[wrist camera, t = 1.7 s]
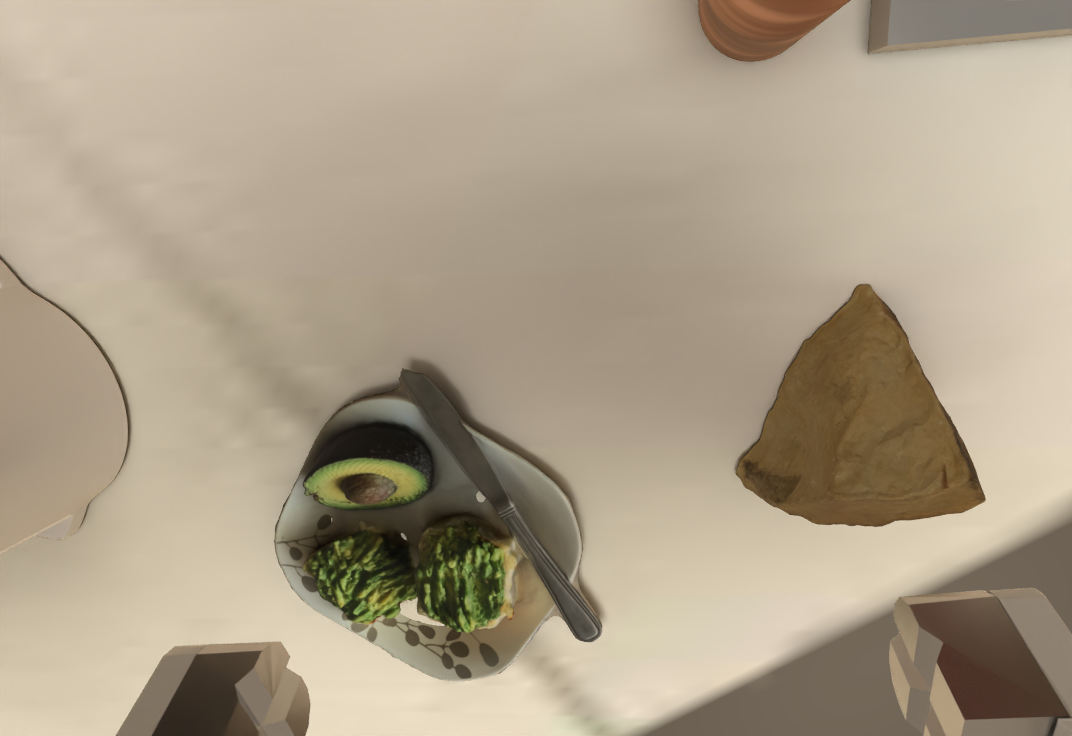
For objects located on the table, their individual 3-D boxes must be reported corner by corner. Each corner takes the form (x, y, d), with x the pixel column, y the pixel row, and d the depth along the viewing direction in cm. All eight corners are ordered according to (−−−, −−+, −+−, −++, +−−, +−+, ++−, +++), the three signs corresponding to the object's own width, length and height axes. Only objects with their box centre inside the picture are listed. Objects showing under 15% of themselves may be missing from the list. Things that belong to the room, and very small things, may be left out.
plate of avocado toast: (681, 519, 38) (681, 568, 34) (520, 717, 45) (503, 779, 41) (379, 328, 38) (341, 353, 34) (262, 555, 45) (218, 600, 40)
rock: (777, 571, 35) (996, 513, 31) (719, 575, 28) (991, 500, 24) (710, 376, 39) (895, 299, 35) (645, 337, 33) (865, 236, 28)
